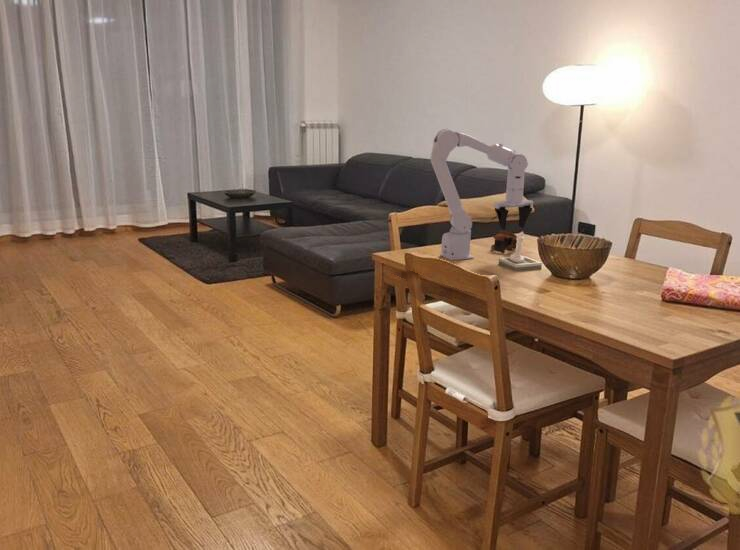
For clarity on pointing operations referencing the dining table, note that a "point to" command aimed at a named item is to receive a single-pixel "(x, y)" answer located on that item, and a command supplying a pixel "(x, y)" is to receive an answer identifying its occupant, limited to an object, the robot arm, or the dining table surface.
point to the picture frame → (520, 264)
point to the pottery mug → (504, 241)
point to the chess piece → (518, 250)
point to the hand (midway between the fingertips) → (512, 228)
